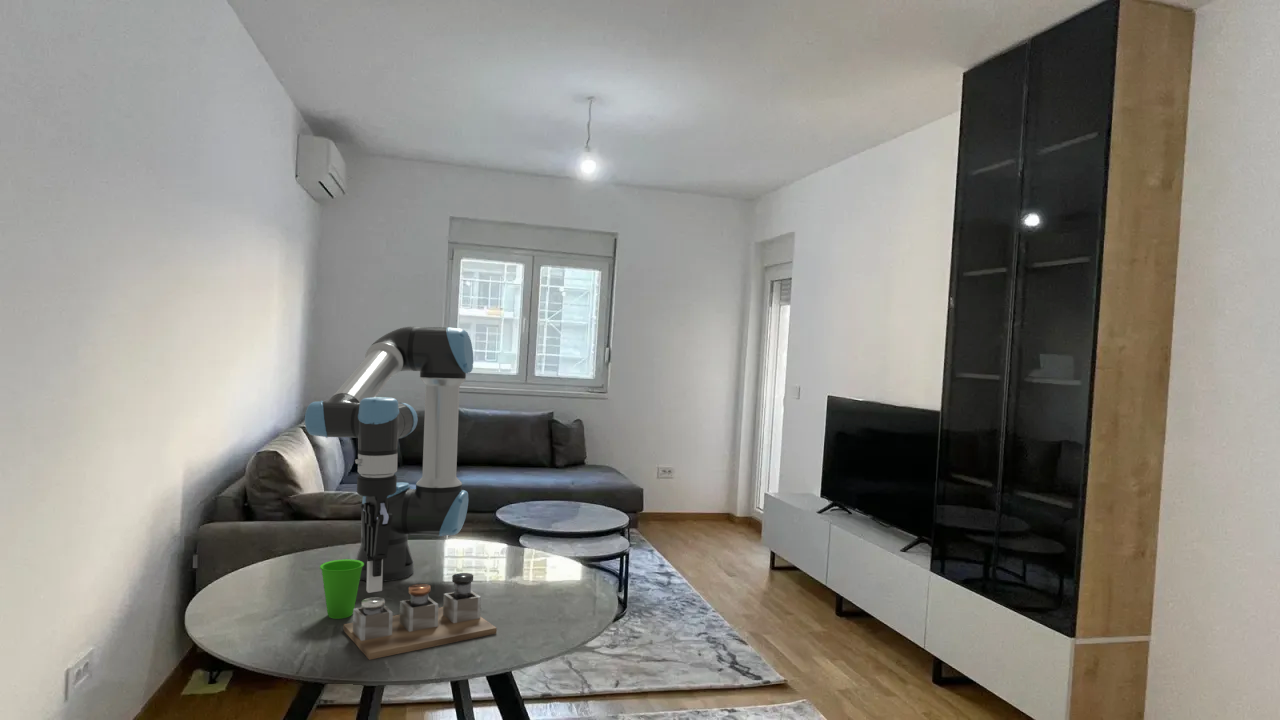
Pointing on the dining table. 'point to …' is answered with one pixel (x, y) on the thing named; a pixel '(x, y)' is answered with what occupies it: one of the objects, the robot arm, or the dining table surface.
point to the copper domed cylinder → (419, 594)
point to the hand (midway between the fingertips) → (374, 590)
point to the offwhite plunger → (372, 605)
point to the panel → (418, 626)
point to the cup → (341, 586)
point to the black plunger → (462, 585)
